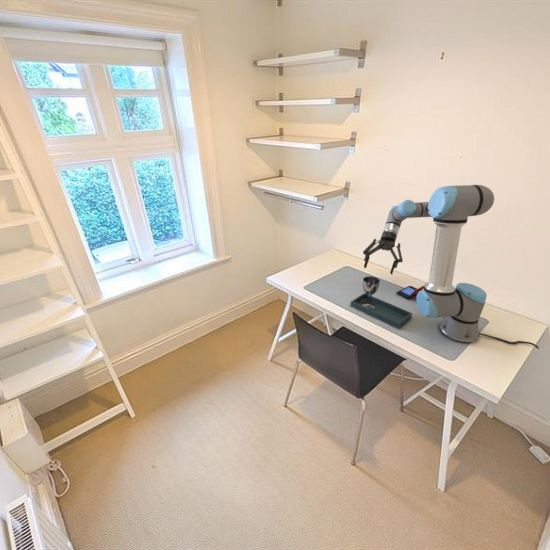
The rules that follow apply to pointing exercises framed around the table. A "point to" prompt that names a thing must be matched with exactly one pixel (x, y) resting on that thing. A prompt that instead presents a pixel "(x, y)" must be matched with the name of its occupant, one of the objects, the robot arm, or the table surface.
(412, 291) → the handheld game console
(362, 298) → the tray
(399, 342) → the table surface
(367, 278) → the wine glass
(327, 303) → the table surface
